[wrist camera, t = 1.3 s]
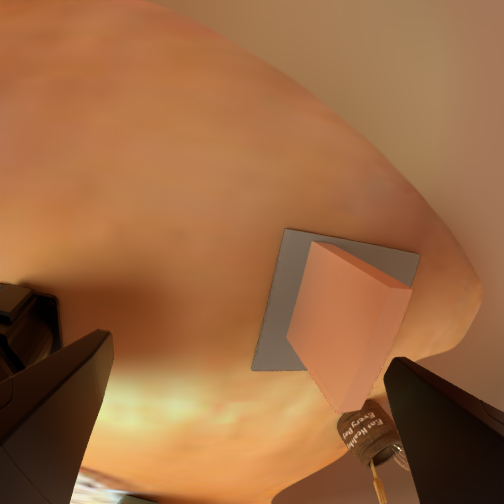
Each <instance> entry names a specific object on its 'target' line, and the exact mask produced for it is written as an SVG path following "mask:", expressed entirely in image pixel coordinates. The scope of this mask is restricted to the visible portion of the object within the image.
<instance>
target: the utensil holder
mask: <svg viewBox="0 0 504 504" xmlns="http://www.w3.org/2000/svg"><path fill="white" fill-rule="evenodd" d="M337 430H338V432H339V435H340V436H341V438H342V440H343V441H344V443H345V444H346V446H347V447H348V449H349V450H350V452H351V453H352V454H353V455H354V456H355V457H356V458H358V459H360V461H361V463H362V464H363V465H364V466H365V467H366V468H368V469H372V471H373V475H374V478H375V480H374V486H375V489H376V492H377V495H378V498H379V501H380V504H382V502H383V503H387V499H386V495H385V491H384V488H383V484H382V481H381V480H380V479H379V478H378V476H377V473H376V470H375V468H376V467H378V466H380V465H382V464H384V463H386V462H387V461H389V460H390V459H391V458H393V457H394V456H395V455H396V454H397V453H398V452H399V451H400V450H401V448H402V447H403V445H402V442H401V440H400V437H399V434H398V433H397V428H396V425H395V423H394V422H393V420H392V419H391V418H390V417H389V416H388V414H387V413H386V412H385V411H384V410H383V409H382V407H381V406H380V405H379V404H377V403H376V402H374V401H365V403H364V404H363V406H362V408H361V410H357V411H352V412H346V413H344V414H343V416H342V417H341V418H340V420H339V422H338V425H337ZM394 459H395V457H394ZM406 459H407V458H406Z"/></svg>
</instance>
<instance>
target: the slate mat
mask: <svg viewBox="0 0 504 504" xmlns="http://www.w3.org/2000/svg"><path fill="white" fill-rule="evenodd" d="M312 241H316V242H322V243H328V244H333V245H335V246H337V247H339V248H340V249H342V250H344V251H346V252H348V253H350V254H351V255H353V256H355V257H357V258H359V259H361V260H362V261H364V262H366V263H368V264H370V265H371V266H373V267H375V268H377V269H378V270H380V271H382V272H384V273H385V274H387V275H389V276H391V277H392V278H394V279H396V280H398V281H399V282H401V283H403V284H405V285H406V286H408V287H410V288H411V285H412V282H413V279H414V276H415V272H416V269H417V266H418V263H419V259H420V256H421V255H420V254H417V253H412V252H407V251H402V250H398V249H393V248H388V247H383V246H378V245H373V244H368V243H363V242H357V241H352V240H347V239H342V238H336V237H331V236H326V235H320V234H315V233H309V232H304V231H298V230H292V229H287V228H285V230H284V235H283V239H282V244H281V248H280V252H279V257H278V261H277V265H276V270H275V274H274V278H273V282H272V287H271V291H270V295H269V299H268V303H267V307H266V311H265V315H264V319H263V324H262V328H261V332H260V336H259V340H258V343H257V347H256V351H255V355H254V359H253V363H252V367H251V369H252V371H302V370H307V369H306V367H305V366H304V364H303V363H302V361H301V360H300V358H299V357H298V355H297V353H296V352H295V350H294V349H293V347H292V346H291V344H290V343H289V341H288V340H287V338H286V336H287V332H288V329H289V325H290V322H291V318H292V315H293V311H294V307H295V304H296V300H297V297H298V293H299V289H300V285H301V282H302V278H303V274H304V270H305V266H306V262H307V258H308V254H309V250H310V246H311V242H312Z"/></svg>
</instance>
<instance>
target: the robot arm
mask: <svg viewBox="0 0 504 504" xmlns="http://www.w3.org/2000/svg"><path fill="white" fill-rule="evenodd" d="M50 301H53V302H54V304H52V303H51V302H50ZM113 359H114V349H113V337H112V333H111V332H110V331H107V330H102V329H97V330H95V331H93V332H91V333H90V334H88V335H86V336H84V337H82V338H80V339H79V340H77V341H75V342H73V343H71V344H70V345H68V346H66V347H64V348H63V342H62V333H61V324H60V312H59V301H58V299H57V298H56V297H55V296H53V295H49V294H44V293H39V292H34V291H33V290H32V289H29V288H24V287H20V286H15V285H11V284H7V285H3V284H0V504H70V500H71V496H72V493H73V489H74V486H75V482H76V479H77V476H78V472H79V469H80V466H81V463H82V460H83V457H84V453H85V450H86V447H87V444H88V442H89V439H90V436H91V433H92V430H93V427H94V424H95V422H96V419H97V416H98V413H99V411H100V408H101V405H102V402H103V398H104V395H105V390H106V386H107V382H108V379H109V375H110V371H111V367H112V364H113ZM384 385H385V389H386V392H387V396H388V400H389V404H390V408H391V412H392V416H393V419H394V422H395V425H396V428H397V431H398V434H399V437H400V440H401V442H402V445H403V449H404V452H405V455H406V458H407V461H408V464H409V467H410V471H411V474H412V477H413V480H414V484H415V487H416V491H417V494H418V498H419V502H420V504H504V412H503V411H501V410H499V409H497V408H495V407H493V406H491V405H489V404H487V403H485V402H483V401H482V400H479V399H478V398H476V397H475V396H473V395H471V394H469V393H467V392H466V391H464V390H462V389H460V388H459V387H457V386H455V385H453V384H452V383H450V382H448V381H446V380H445V379H442V378H441V377H439V376H437V375H436V374H434V373H432V372H430V371H429V370H427V369H425V368H423V367H422V366H420V365H418V364H417V363H415V362H413V361H411V360H410V359H408V358H406V357H395V358H393V359H392V361H391V363H390V365H389V367H388V369H387V371H386V373H385V374H384Z"/></svg>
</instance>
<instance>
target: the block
mask: <svg viewBox="0 0 504 504" xmlns="http://www.w3.org/2000/svg"><path fill="white" fill-rule="evenodd" d="M412 293H413V289H411V288H410V287H408V286H406V285H405V284H403V283H401V282H399V281H398V280H396V279H394V278H392V277H391V276H389V275H387V274H385V273H384V272H382V271H380V270H378V269H377V268H375V267H373V266H371V265H370V264H368V263H366V262H364V261H362V260H361V259H359V258H357V257H355V256H353V255H351V254H350V253H348V252H346V251H344V250H342V249H340V248H339V247H337V246H335V245H333V244H328V243H322V242H316V241H312V242H311V246H310V250H309V254H308V258H307V262H306V266H305V270H304V274H303V278H302V282H301V285H300V289H299V293H298V297H297V300H296V304H295V307H294V311H293V315H292V318H291V322H290V325H289V329H288V332H287V336H286V338H287V340H288V341H289V343H290V344H291V346H292V347H293V349H294V350H295V352H296V353H297V355H298V357H299V358H300V360H301V361H302V363H303V364H304V366H305V367H306V369H307V370H308V372H309V373H310V375H311V376H312V378H313V379H314V381H315V382H316V384H317V386H318V387H319V389H320V390H321V392H322V393H323V395H324V396H325V398H326V399H327V401H328V402H329V404H330V405H331V407H332V408H333V410H334V411H335V413H336V414H340V413H346V412H352V411H357V410H361V408H362V406H363V404H364V403H365V401H366V399H367V397H368V395H369V393H370V391H371V389H372V387H373V385H374V383H375V381H376V379H377V377H378V375H379V373H380V371H381V369H382V367H383V365H384V362H385V360H386V358H387V356H388V354H389V351H390V349H391V347H392V344H393V342H394V340H395V337H396V335H397V333H398V330H399V328H400V325H401V323H402V320H403V317H404V315H405V312H406V309H407V307H408V304H409V301H410V298H411V296H412Z"/></svg>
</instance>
